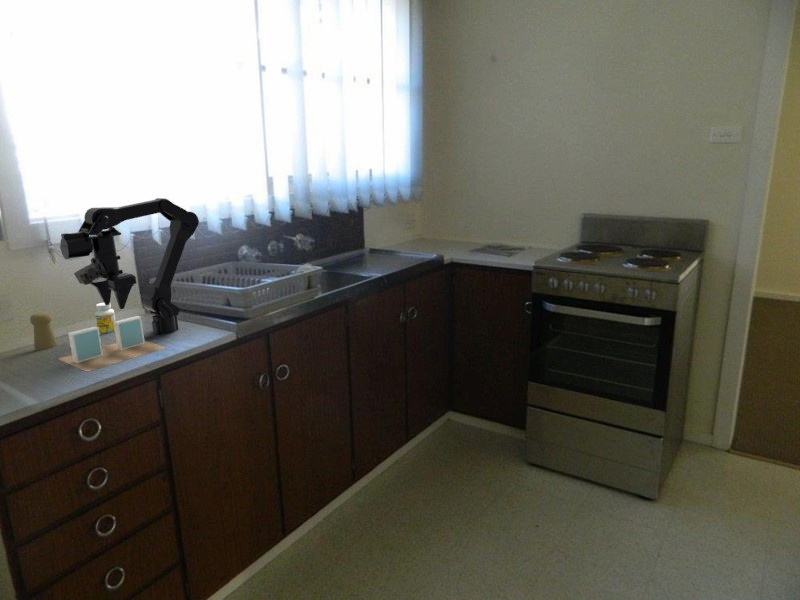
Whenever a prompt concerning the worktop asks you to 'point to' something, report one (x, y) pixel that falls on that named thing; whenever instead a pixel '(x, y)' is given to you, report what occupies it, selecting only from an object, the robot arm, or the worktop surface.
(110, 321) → the supplement bottle
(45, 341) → the cork
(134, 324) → the tile
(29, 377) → the worktop surface
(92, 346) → the tile
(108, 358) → the board
